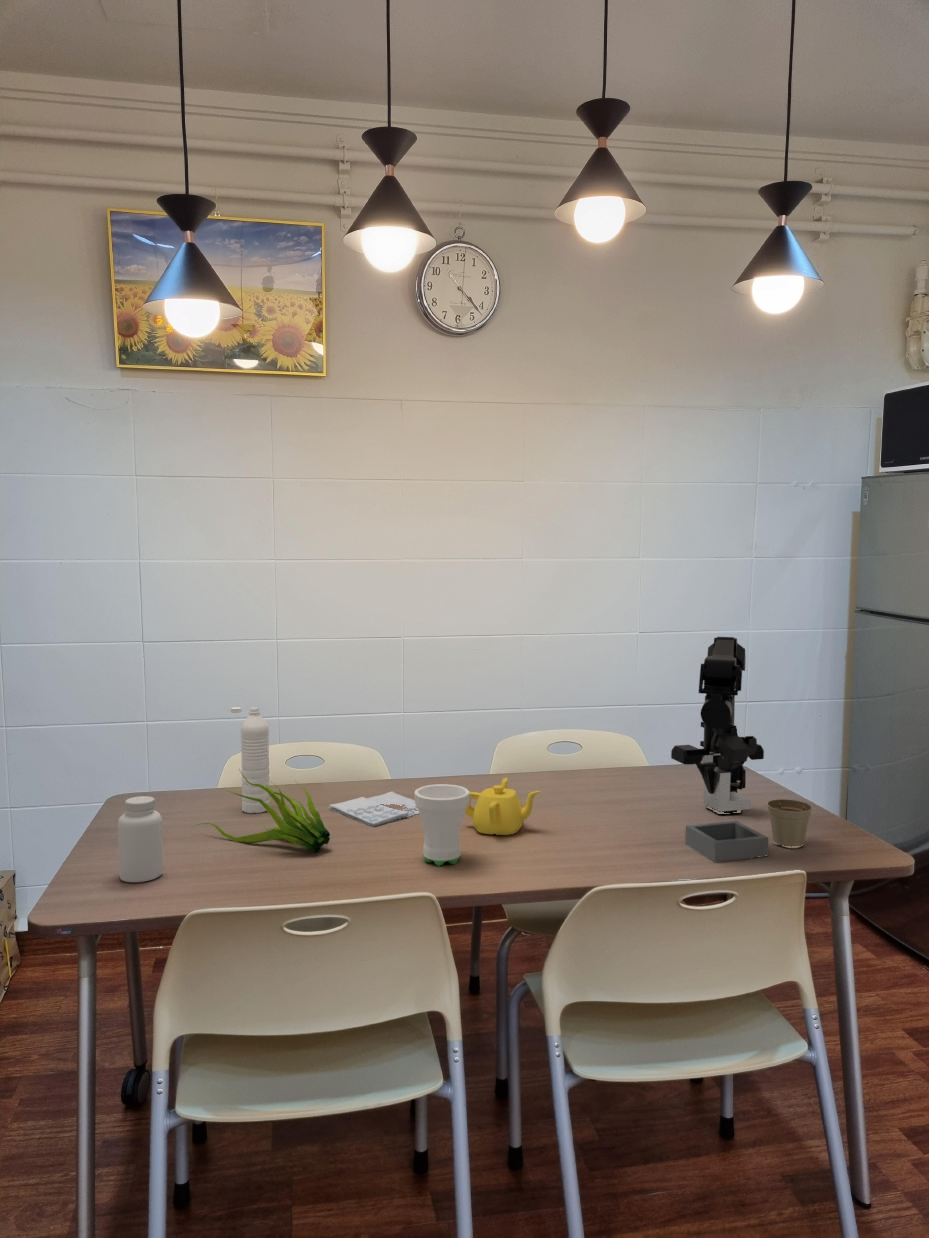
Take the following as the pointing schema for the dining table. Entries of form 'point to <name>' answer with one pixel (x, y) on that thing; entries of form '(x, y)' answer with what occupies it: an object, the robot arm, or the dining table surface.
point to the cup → (442, 820)
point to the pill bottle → (140, 841)
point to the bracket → (724, 794)
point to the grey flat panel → (376, 808)
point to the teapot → (499, 810)
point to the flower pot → (789, 821)
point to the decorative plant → (288, 823)
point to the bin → (726, 841)
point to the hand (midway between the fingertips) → (716, 792)
